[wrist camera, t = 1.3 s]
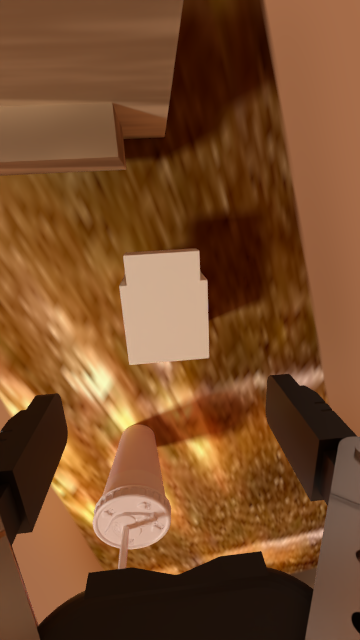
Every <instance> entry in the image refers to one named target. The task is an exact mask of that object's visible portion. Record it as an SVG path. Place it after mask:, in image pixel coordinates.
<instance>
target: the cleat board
mask: <svg viewBox="0 0 360 640" xmlns="http://www.w3.org/2000/svg"><path fill="white" fill-rule="evenodd" d="M182 7H183V0H0V175H19V174H41V173H62V172H83V171H104V170H125V169H126V161H125V151H124V142H123V139H136V138H161V137H165V131H166V124H167V116H168V109H169V102H170V94H171V87H172V80H173V72H174V65H175V58H176V51H177V43H178V36H179V29H180V21H181V14H182Z"/></svg>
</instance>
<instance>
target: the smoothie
mask: <svg viewBox="0 0 360 640" xmlns="http://www.w3.org/2000/svg"><path fill="white" fill-rule="evenodd" d="M170 523H171V506H170V503H169V500H168V499H167V498H166V497H165V492H164V486H163V481H162V475H161V469H160V463H159V458H158V452H157V446H156V440H155V435H154V432H153V431H152V429H150V428H149V427H147V426H145V425H139V424H138V425H132V426H130V427H128V428H127V429H126V430H125V431H124V432H123V434H122V437H121V440H120V443H119V446H118V449H117V453H116V456H115V459H114V462H113V465H112V468H111V471H110V474H109V477H108V481H107V484H106V486H105V490H104V493H103V496H102V497H101V498H100V500H99V501H98V502H97V504H96V507H95V510H94V518H93V528H94V531H95V533H96V535H97V536H98V537H99V538H100V539H101V540H102V541H104V542H105V543H106V544H109V545H111V546H113V547H117V548H120V556H119V565H118V569H124V568H126V562H127V549H138V548H143V547H146V546H149V545H151V544H154V543H155V542H157V541H159V540H160V539H161V538H162V537H163V536H164V535H165V534H166V533H167V531H168V529H169V527H170Z"/></svg>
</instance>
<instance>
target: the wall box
mask: <svg viewBox="0 0 360 640" xmlns="http://www.w3.org/2000/svg"><path fill="white" fill-rule="evenodd" d="M123 258H124V266H125V275H124V278H123V280H122V282H121V284H120V286H119V288H120V295H121V303H122V311H123V319H124V327H125V334H126V342H127V350H128V358H129V365H134V364H145V363H157V362H168V361H180V360H191V359H203V358H209V331H208V281H207V279H206V278H205V276H204V275H203V274H202V273H201V271H200V255H199V250H198V249H197V248H193V249H177V250H161V251H146V252H130V253H125V254H124V255H123Z"/></svg>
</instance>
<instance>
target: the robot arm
mask: <svg viewBox="0 0 360 640" xmlns="http://www.w3.org/2000/svg"><path fill="white" fill-rule="evenodd" d="M266 417H267V421H268V424H269V426H270V428H271V430H272V432H273V434H274V435H275V437H276V439H277V441H278V443H279V444H280V446H281V448H282V450H283V452H284V453H285V455H286V457H287V459H288V461H289V463H290V464H291V466H292V468H293V470H294V472H295V473H296V475H297V477H298V479H299V481H300V482H301V484H302V486H303V488H304V490H305V492H306V493H307V495H308V497H309V499H310V501H317V500H325V502H326V504H327V505H328V508H327V514H326V520H325V526H324V532H323V538H322V543H321V549H320V555H319V561H318V567H317V573H316V578H315V584H314V589H312V588H311V587H309V586H308V585H307V584H305V583H304V582H302V581H300V580H298V579H297V578H295V577H293V576H291V575H289V574H287V573H285V572H282V571H279V570H276V569H272V568H267V567H266V565H265V562H264V558H263V555H262V552H261V551H260V552H252V553H244V554H236V555H228V556H220V557H218V558H216V559H213V560H211V561H209V562H207V563H204V564H202V565H200V566H198V567H195V568H193V569H191V570H189V571H186V572H184V573H182V574H179V575H171V574H166V573H160V572H155V571H149V570H143V569H138V568H124V569H116V570H108V571H100V572H92V573H89V574H88V579H87V584H86V590H85V591H84V592H81V593H79V594H77V595H76V596H74V597H72V598H70V599H69V600H67V601H66V602H65V603H63V604H62V605H60V606H59V607H58V608H57V609H55V610H54V611H53V612H52V613H51V614H50V615H48V617H46V618H45V619H44V620H43V621H42V622H41V623H40V624H39V625H38V622H37V619H36V617H35V614H34V611H33V608H32V605H31V602H30V599H29V596H28V593H27V590H26V587H25V584H24V581H23V578H22V575H21V572H20V569H19V566H18V563H17V560H16V557H15V554H14V551H13V548H12V544H13V541H14V539H15V537H16V535H17V534H20V533H28V532H32V531H33V528H34V525H35V523H36V520H37V518H38V515H39V513H40V510H41V508H42V505H43V502H44V500H45V497H46V495H47V492H48V489H49V487H50V484H51V482H52V479H53V477H54V474H55V472H56V469H57V467H58V464H59V461H60V459H61V456H62V454H63V451H64V449H65V446H66V443H67V436H68V431H67V424H66V420H65V415H64V410H63V406H62V401H61V397H60V395H59V394H46V395H37V396H35V398H34V399H33V400H32V402H31V403H30V405H29V406H28V408H27V409H26V410H21V411H20V412H18V413H17V414H16V415H15V416H13V417H12V418H11V419H10V420H8V422H7V423H6V424H5V426H4V427H3V428H2V430H1V433H0V640H360V437H357V436H356V435H355V433H354V432H353V431H352V430H351V429H350V428H349V427H348V426H347V425H346V424H345V423H344V422H343V420H342V419H341V418H340V417H339V416H338V415H337V414H336V413H335V412H334V411H332V409H331V408H330V406H329V405H328V404H327V403H325V401H324V400H323V399H322V398H321V397H320V396H319V395H318V393H316V392H315V391H313V390H311V389H310V388H308V387H306V386H299V385H298V383H297V382H296V381H295V380H294V379H293V378H292V376H291V375H289V374H282V375H270V376H269V377H268V380H267V395H266Z"/></svg>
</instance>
